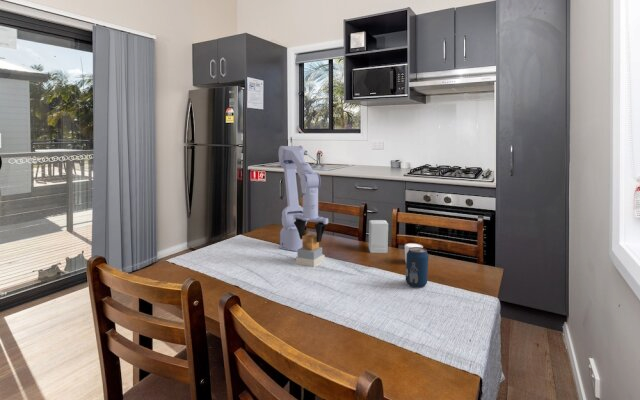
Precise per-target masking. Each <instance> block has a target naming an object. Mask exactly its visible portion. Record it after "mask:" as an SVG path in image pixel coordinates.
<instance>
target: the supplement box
mask: <svg viewBox="0 0 640 400" xmlns="http://www.w3.org/2000/svg"><path fill="white" fill-rule="evenodd" d="M388 239H389V223H388V221H387V220H384V219H371V220H369V221H368V246H367V247H368V251H369V253H370V254H388V247H389V246H388V244H389V240H388Z"/></svg>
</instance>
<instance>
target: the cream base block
mask: <svg viewBox="0 0 640 400" xmlns="http://www.w3.org/2000/svg"><path fill="white" fill-rule="evenodd" d="M325 260H326V259H325V254H323V253H322V255H321V256H319V257H318V258H316V259H315V260H311V259H305V258H299V257H298V255H297V256H295V264H297V265H301V266H307V267H311V268H316V267H317V266H318V265H320V264H323V263H324V262H325Z"/></svg>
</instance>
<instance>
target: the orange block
mask: <svg viewBox="0 0 640 400" xmlns="http://www.w3.org/2000/svg"><path fill="white" fill-rule="evenodd" d="M302 247H303V249H306V250H311V251H313V250H315V249H317V248H319V247H320V242H317V234H316V233H315V234H314V233H307V234H306V233H305V235H304V236H302Z"/></svg>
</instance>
